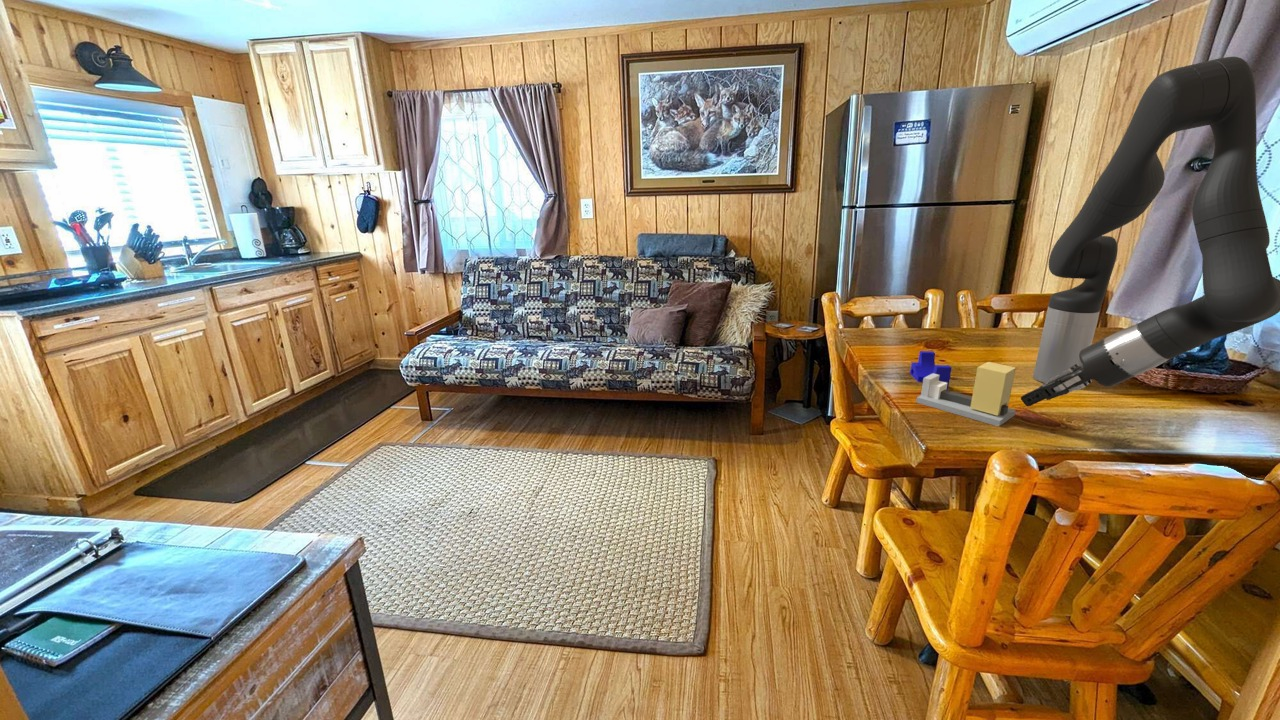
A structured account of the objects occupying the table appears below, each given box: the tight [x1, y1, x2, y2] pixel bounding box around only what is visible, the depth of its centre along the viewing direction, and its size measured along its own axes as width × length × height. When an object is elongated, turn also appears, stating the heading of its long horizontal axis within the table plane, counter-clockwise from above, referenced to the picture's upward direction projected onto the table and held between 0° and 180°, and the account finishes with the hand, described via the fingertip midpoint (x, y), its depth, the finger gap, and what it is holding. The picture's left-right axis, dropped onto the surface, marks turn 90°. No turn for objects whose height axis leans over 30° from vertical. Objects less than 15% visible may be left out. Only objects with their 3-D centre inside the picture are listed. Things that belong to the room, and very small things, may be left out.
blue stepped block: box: [909, 350, 953, 390], centre depth 128 cm, size 12×4×6 cm, turn 171°
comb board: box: [915, 373, 1016, 427], centre depth 113 cm, size 8×16×5 cm, turn 38°
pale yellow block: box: [970, 361, 1017, 416], centre depth 108 cm, size 5×5×9 cm
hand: (1024, 401), depth 104 cm, fingers closed
